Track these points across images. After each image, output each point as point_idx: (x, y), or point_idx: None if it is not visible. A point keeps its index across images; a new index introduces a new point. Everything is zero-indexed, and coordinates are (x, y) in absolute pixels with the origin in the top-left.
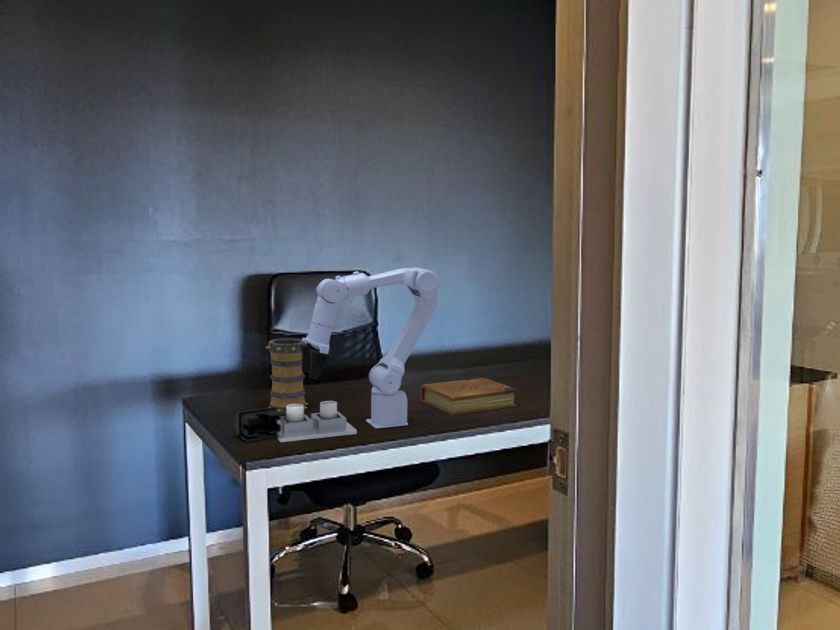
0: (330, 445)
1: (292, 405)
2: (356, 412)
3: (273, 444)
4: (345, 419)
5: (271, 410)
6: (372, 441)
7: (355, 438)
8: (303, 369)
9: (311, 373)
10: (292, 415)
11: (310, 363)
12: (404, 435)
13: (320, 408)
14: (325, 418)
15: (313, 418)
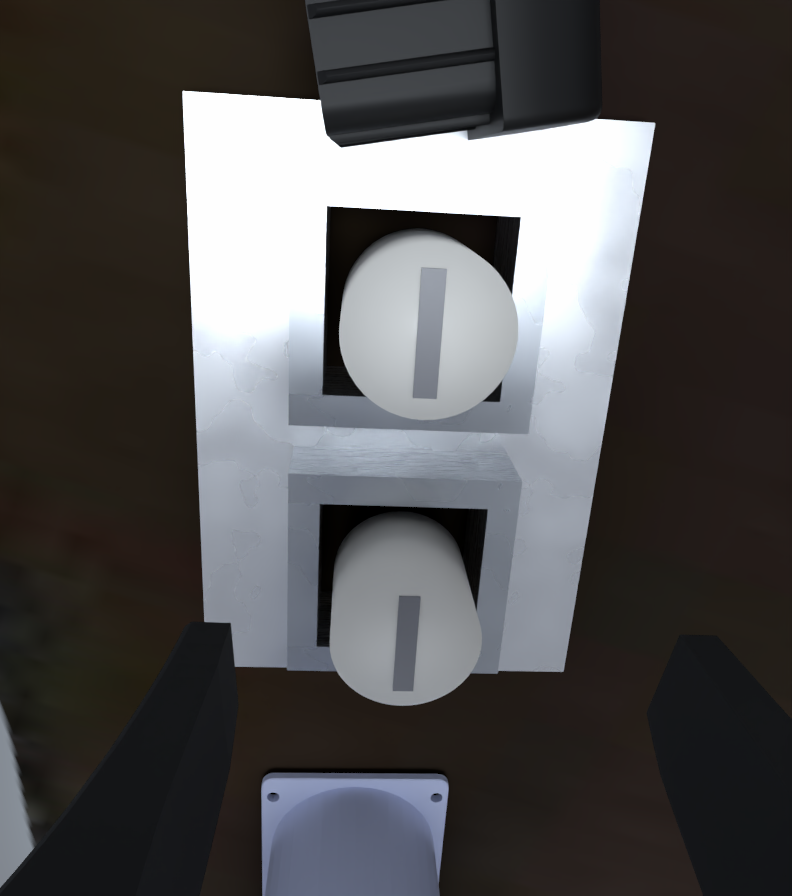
0: (7, 425)
1: (462, 317)
2: (661, 782)
3: (152, 16)
4: (287, 659)
5: (451, 58)
6: (26, 680)
7: (118, 614)
8: (692, 675)
9: (154, 691)
10: (355, 272)
11: (717, 853)
12: None
13: (407, 554)
14: (348, 540)
15: (445, 470)
